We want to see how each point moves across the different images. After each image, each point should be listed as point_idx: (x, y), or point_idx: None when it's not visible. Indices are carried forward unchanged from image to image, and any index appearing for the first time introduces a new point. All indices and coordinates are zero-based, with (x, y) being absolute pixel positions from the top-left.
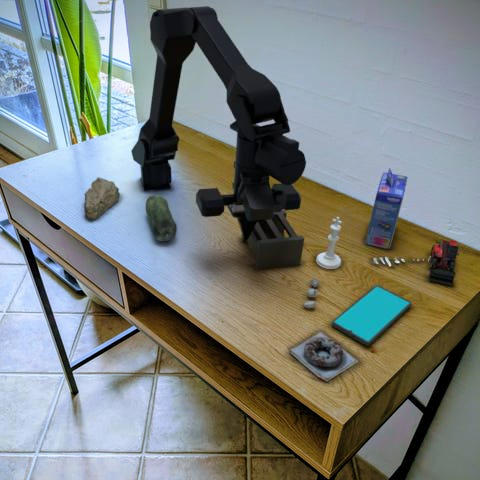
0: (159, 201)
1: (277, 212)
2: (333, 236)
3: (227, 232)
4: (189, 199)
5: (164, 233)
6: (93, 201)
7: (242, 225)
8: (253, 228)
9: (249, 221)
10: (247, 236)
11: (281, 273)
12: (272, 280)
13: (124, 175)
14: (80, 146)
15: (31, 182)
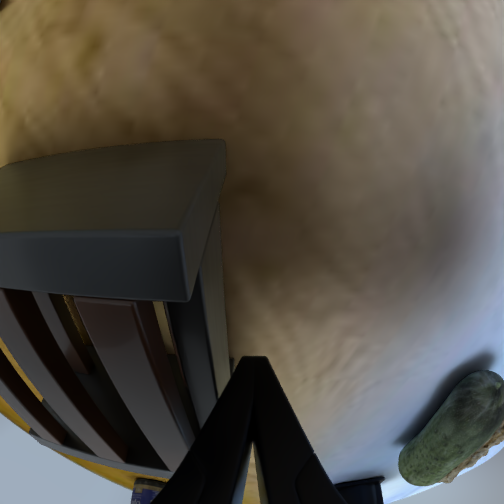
0: (440, 475)
1: (63, 450)
2: None
3: None
4: None
5: (501, 389)
6: (494, 444)
7: (316, 475)
8: (199, 434)
9: (234, 498)
10: (248, 377)
11: (90, 92)
12: (158, 28)
13: (384, 488)
14: (393, 501)
15: (489, 452)
